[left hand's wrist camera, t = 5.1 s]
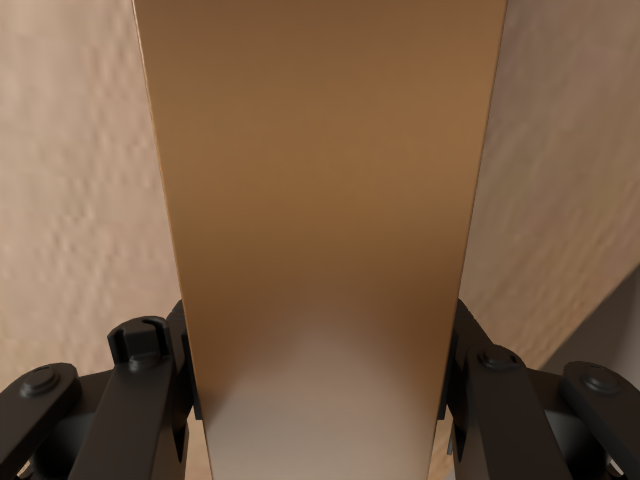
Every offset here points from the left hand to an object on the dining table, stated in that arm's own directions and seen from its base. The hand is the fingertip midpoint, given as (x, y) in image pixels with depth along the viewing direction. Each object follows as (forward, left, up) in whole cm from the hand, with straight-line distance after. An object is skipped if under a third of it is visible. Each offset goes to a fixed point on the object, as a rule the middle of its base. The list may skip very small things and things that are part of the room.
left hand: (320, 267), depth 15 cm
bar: (+14, +10, -1) cm, 18 cm away
